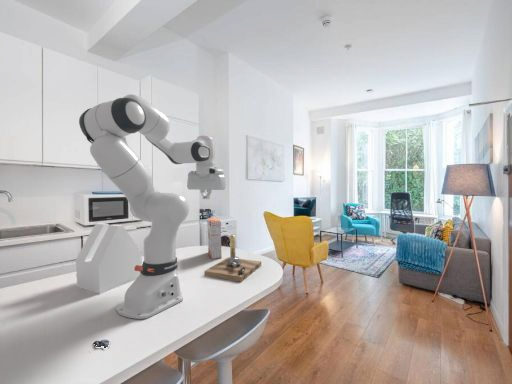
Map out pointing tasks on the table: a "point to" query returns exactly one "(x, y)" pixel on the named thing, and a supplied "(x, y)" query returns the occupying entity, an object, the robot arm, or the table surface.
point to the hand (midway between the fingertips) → (206, 199)
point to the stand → (233, 270)
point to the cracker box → (214, 237)
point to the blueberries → (102, 343)
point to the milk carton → (107, 259)
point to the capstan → (233, 253)
